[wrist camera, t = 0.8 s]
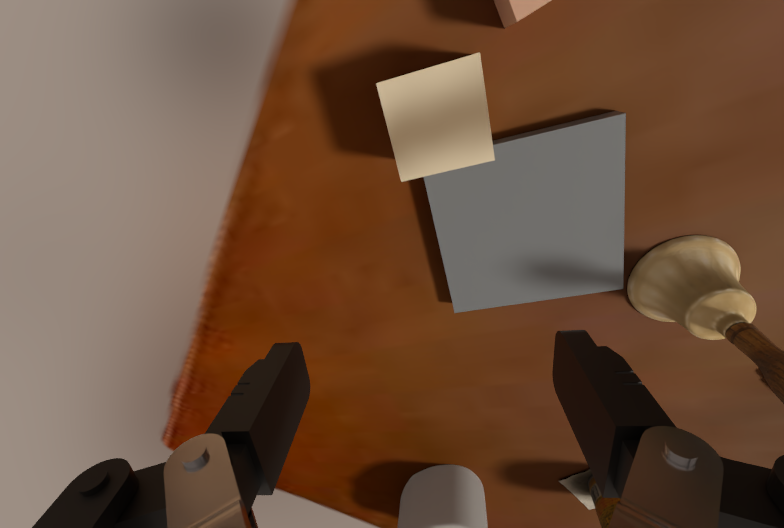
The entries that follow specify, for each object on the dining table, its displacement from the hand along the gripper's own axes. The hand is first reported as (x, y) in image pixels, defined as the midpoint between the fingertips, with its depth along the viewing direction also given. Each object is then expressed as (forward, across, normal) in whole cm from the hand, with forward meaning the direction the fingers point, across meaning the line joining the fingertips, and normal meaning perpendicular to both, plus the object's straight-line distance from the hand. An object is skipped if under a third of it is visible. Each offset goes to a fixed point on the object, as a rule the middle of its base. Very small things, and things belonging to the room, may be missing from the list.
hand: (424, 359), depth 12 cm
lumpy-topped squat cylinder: (+24, 0, +41) cm, 48 cm away
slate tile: (+21, -8, +3) cm, 22 cm away
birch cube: (+20, -2, -6) cm, 21 cm away
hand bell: (+21, -21, +9) cm, 31 cm away
